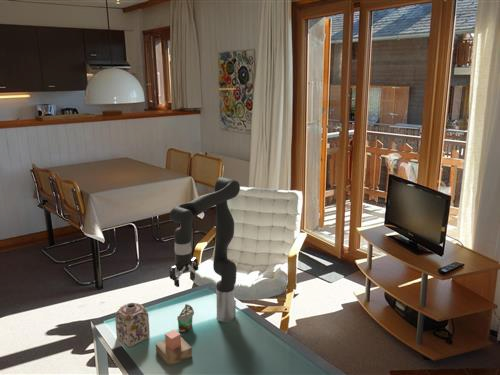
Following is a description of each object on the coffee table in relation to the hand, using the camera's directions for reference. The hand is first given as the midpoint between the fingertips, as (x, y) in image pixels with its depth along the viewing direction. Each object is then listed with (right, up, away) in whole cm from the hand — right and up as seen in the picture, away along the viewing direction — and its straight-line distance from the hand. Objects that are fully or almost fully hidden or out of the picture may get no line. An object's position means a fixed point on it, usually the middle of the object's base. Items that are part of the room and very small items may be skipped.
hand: (184, 283), depth 203 cm
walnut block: (-5, -34, +2) cm, 34 cm away
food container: (-2, -28, +22) cm, 35 cm away
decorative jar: (-27, -30, +14) cm, 43 cm away
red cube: (-5, -29, +1) cm, 29 cm away
